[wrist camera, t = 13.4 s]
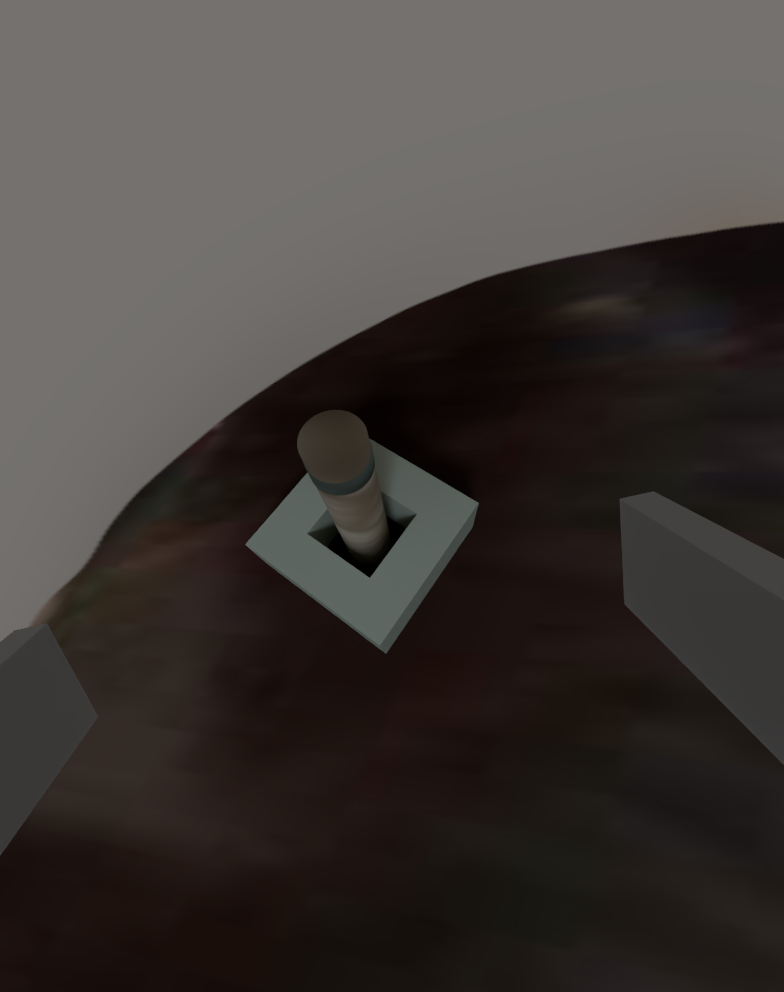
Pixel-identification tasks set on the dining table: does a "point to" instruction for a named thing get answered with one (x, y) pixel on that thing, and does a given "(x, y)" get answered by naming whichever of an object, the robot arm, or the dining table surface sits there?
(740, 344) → the dining table surface
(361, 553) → the tan cylinder
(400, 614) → the grey square-hole block
